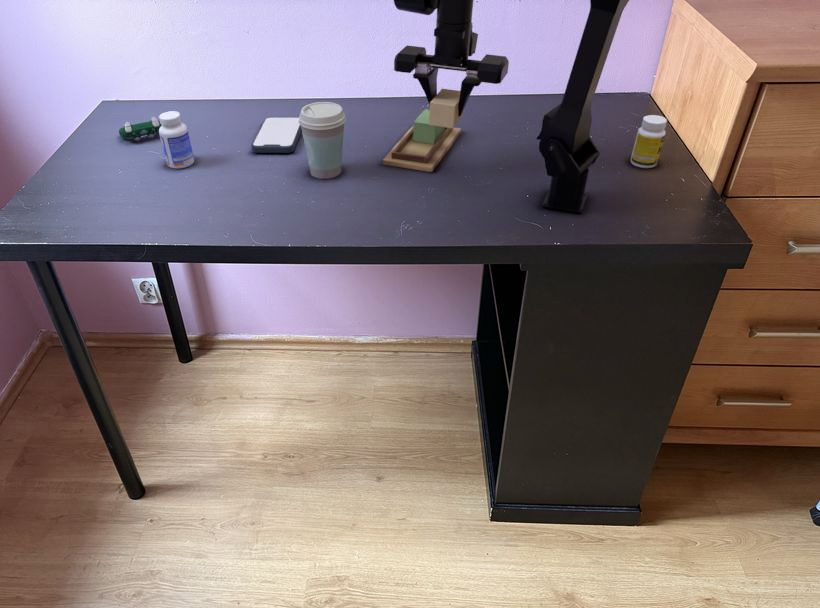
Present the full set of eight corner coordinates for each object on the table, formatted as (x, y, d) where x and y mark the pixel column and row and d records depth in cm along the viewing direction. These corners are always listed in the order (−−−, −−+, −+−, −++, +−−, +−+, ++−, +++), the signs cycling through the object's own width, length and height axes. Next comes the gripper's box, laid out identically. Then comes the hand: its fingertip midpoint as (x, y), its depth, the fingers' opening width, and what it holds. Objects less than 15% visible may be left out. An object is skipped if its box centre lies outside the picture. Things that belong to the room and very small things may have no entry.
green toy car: (123, 148, 141) (121, 136, 135) (118, 131, 141) (116, 119, 135) (166, 139, 144) (166, 128, 138) (161, 123, 144) (160, 111, 138)
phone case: (265, 124, 144) (250, 154, 132) (264, 116, 143) (249, 146, 131) (305, 124, 144) (294, 154, 131) (305, 116, 143) (293, 146, 130)
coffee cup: (313, 160, 129) (308, 98, 121) (354, 165, 127) (352, 103, 119) (296, 179, 123) (289, 116, 115) (339, 185, 121) (335, 121, 113)
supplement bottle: (658, 169, 121) (671, 125, 116) (631, 168, 122) (642, 123, 116) (654, 158, 125) (667, 114, 119) (628, 157, 125) (639, 113, 120)
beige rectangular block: (453, 128, 115) (454, 105, 113) (428, 124, 117) (429, 102, 114) (464, 113, 120) (466, 91, 117) (440, 110, 121) (442, 88, 119)
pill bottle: (200, 159, 131) (190, 111, 125) (183, 171, 128) (172, 122, 121) (177, 155, 133) (167, 107, 127) (161, 166, 129) (149, 118, 123)
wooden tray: (432, 172, 124) (432, 161, 122) (382, 164, 127) (382, 153, 125) (460, 133, 137) (461, 122, 135) (415, 126, 140) (415, 116, 138)
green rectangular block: (434, 144, 130) (435, 124, 128) (413, 141, 132) (413, 121, 129) (445, 130, 135) (446, 111, 133) (424, 128, 137) (425, 108, 134)
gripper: (521, 11, 110) (509, 104, 120) (416, 1, 116) (412, 91, 126) (506, 30, 102) (494, 127, 113) (393, 19, 108) (392, 112, 119)
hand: (447, 113), depth 118 cm, fingers closed on beige rectangular block, 4 cm apart
